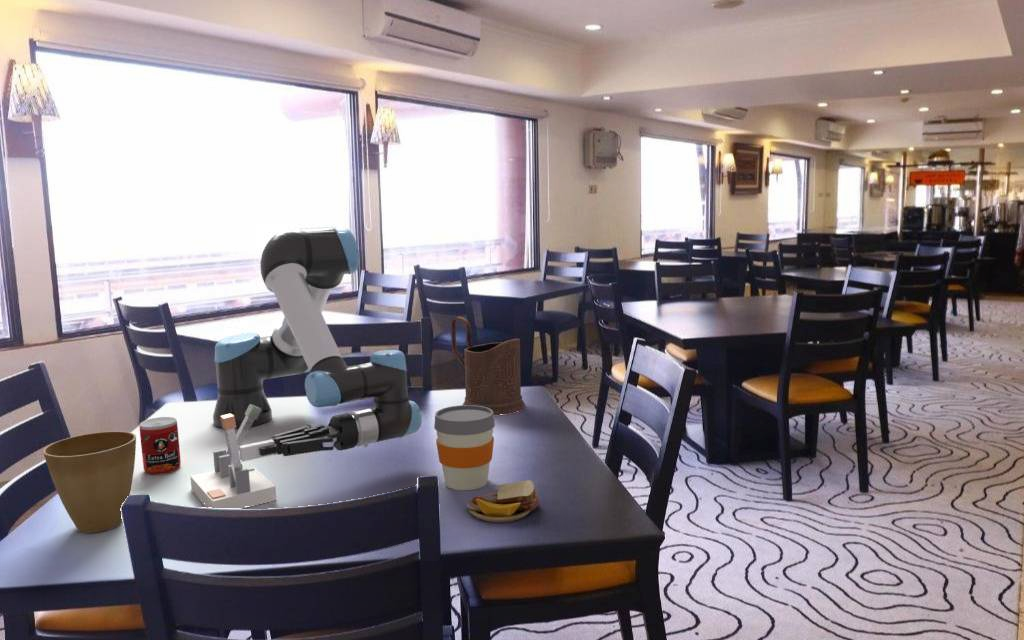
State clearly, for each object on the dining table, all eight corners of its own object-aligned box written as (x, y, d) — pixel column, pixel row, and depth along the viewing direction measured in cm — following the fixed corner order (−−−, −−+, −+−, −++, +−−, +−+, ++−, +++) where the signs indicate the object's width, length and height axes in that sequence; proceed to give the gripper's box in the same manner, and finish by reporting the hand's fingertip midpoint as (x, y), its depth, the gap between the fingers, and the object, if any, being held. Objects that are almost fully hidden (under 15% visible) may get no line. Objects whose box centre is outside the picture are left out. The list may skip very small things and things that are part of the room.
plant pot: (157, 507, 148) (150, 429, 145) (120, 541, 133) (111, 454, 131) (81, 509, 148) (72, 430, 145) (35, 543, 133) (24, 457, 130)
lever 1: (233, 486, 149) (220, 416, 146) (243, 483, 150) (230, 413, 147) (236, 489, 147) (223, 418, 144) (247, 486, 148) (234, 415, 145)
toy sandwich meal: (475, 497, 151) (474, 474, 150) (542, 499, 149) (541, 477, 148) (461, 523, 139) (460, 498, 138) (534, 526, 137) (533, 502, 136)
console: (191, 489, 157) (188, 455, 156) (249, 476, 164) (247, 443, 163) (213, 516, 143) (210, 479, 142) (276, 500, 150) (273, 465, 149)
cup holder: (499, 419, 203) (497, 328, 199) (433, 406, 217) (430, 320, 213) (538, 404, 217) (537, 318, 213) (474, 392, 232) (472, 312, 228)
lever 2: (216, 468, 158) (249, 403, 160) (225, 471, 159) (258, 407, 161) (219, 471, 156) (253, 406, 158) (228, 474, 157) (261, 409, 159)
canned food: (144, 477, 164) (139, 429, 163) (143, 466, 171) (138, 419, 170) (182, 471, 168) (178, 423, 166) (179, 460, 175) (175, 414, 173)
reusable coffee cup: (473, 498, 150) (471, 425, 147) (424, 486, 156) (421, 416, 154) (507, 477, 160) (506, 409, 158) (459, 467, 167) (457, 402, 164)
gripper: (367, 454, 156) (253, 481, 142) (340, 439, 167) (232, 463, 153) (365, 419, 155) (250, 443, 141) (338, 406, 166) (228, 427, 152)
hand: (240, 453), depth 147 cm, fingers closed
